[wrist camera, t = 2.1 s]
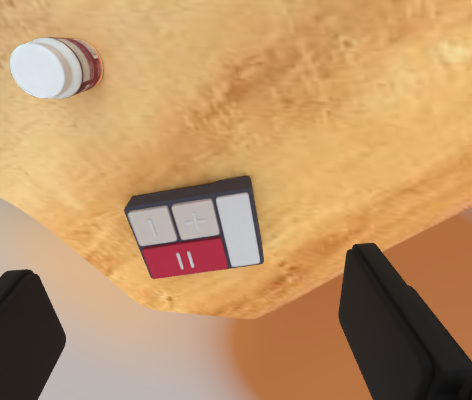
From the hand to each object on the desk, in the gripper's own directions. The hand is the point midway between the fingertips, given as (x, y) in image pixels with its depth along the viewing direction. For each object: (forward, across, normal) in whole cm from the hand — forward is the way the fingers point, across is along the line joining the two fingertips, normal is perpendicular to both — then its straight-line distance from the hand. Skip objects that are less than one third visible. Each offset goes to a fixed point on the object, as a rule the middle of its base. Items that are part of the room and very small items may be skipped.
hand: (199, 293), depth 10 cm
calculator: (+28, +3, +14) cm, 31 cm away
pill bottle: (+28, +13, -6) cm, 31 cm away
